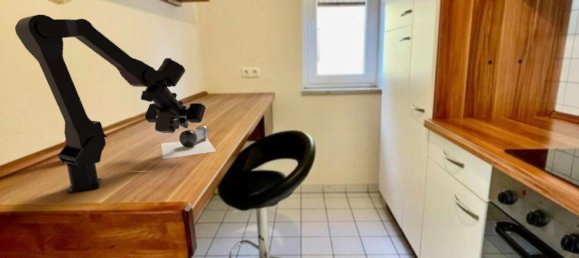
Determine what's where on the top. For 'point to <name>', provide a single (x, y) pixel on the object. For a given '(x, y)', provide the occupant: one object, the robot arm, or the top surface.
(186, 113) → the robot arm
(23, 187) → the top surface
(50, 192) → the top surface
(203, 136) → the silver and black cylinder
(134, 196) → the top surface
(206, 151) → the felt mat
